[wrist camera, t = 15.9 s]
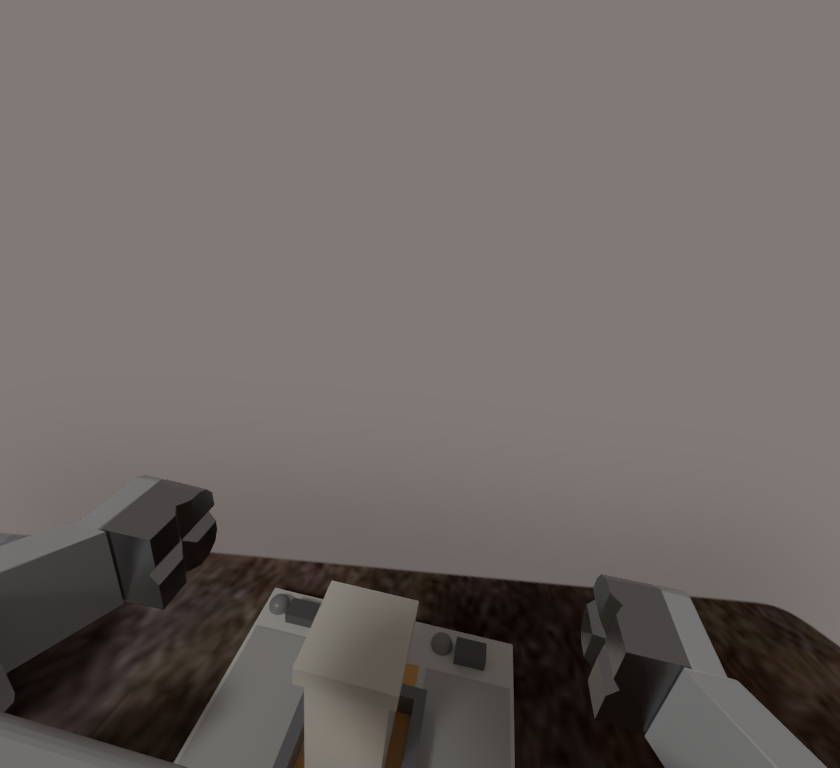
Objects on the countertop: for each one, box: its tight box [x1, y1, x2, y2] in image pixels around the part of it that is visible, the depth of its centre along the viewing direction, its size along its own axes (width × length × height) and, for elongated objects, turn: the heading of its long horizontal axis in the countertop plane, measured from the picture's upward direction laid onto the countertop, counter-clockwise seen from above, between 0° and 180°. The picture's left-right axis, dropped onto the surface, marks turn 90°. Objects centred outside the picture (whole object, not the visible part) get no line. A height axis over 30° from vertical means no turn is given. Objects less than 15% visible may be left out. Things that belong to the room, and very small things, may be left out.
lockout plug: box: [292, 581, 419, 768], centre depth 25 cm, size 5×5×12 cm
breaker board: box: [174, 588, 515, 768], centre depth 29 cm, size 21×18×3 cm
